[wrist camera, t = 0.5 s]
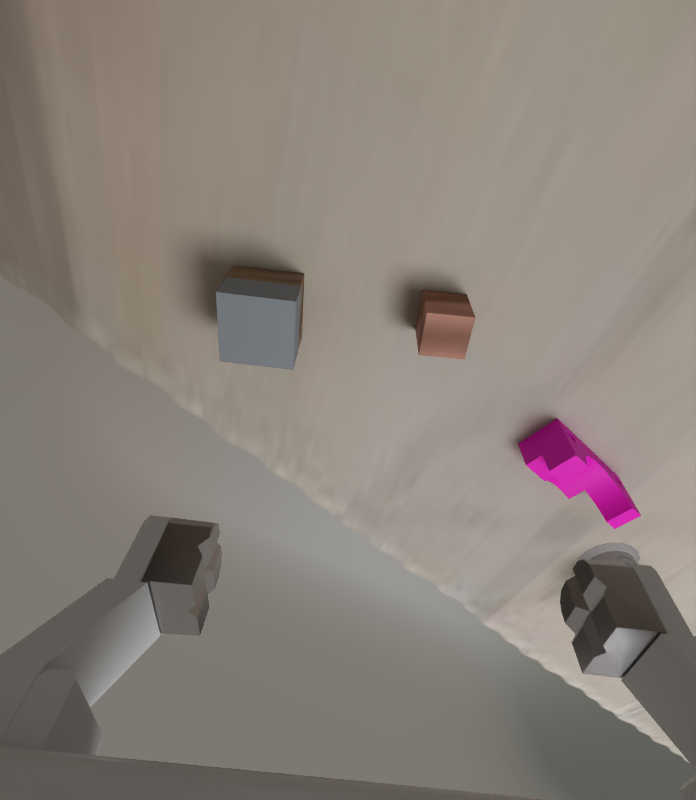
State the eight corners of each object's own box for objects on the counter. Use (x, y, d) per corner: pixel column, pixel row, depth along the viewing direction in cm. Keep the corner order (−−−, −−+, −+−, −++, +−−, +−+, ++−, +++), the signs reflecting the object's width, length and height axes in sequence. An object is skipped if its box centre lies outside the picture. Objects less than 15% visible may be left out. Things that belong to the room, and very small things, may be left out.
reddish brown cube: (422, 290, 54) (427, 312, 49) (466, 294, 54) (475, 317, 49) (415, 329, 57) (418, 354, 52) (457, 333, 57) (464, 359, 52)
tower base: (234, 265, 54) (224, 278, 50) (304, 272, 54) (299, 286, 51) (237, 328, 58) (228, 344, 55) (302, 335, 58) (297, 351, 55)
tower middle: (226, 277, 50) (215, 291, 47) (301, 286, 51) (296, 301, 47) (229, 343, 55) (219, 361, 52) (298, 351, 55) (293, 369, 52)
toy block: (517, 442, 66) (532, 481, 60) (556, 417, 63) (576, 455, 57) (579, 496, 72) (597, 537, 65) (617, 475, 69) (641, 515, 63)
